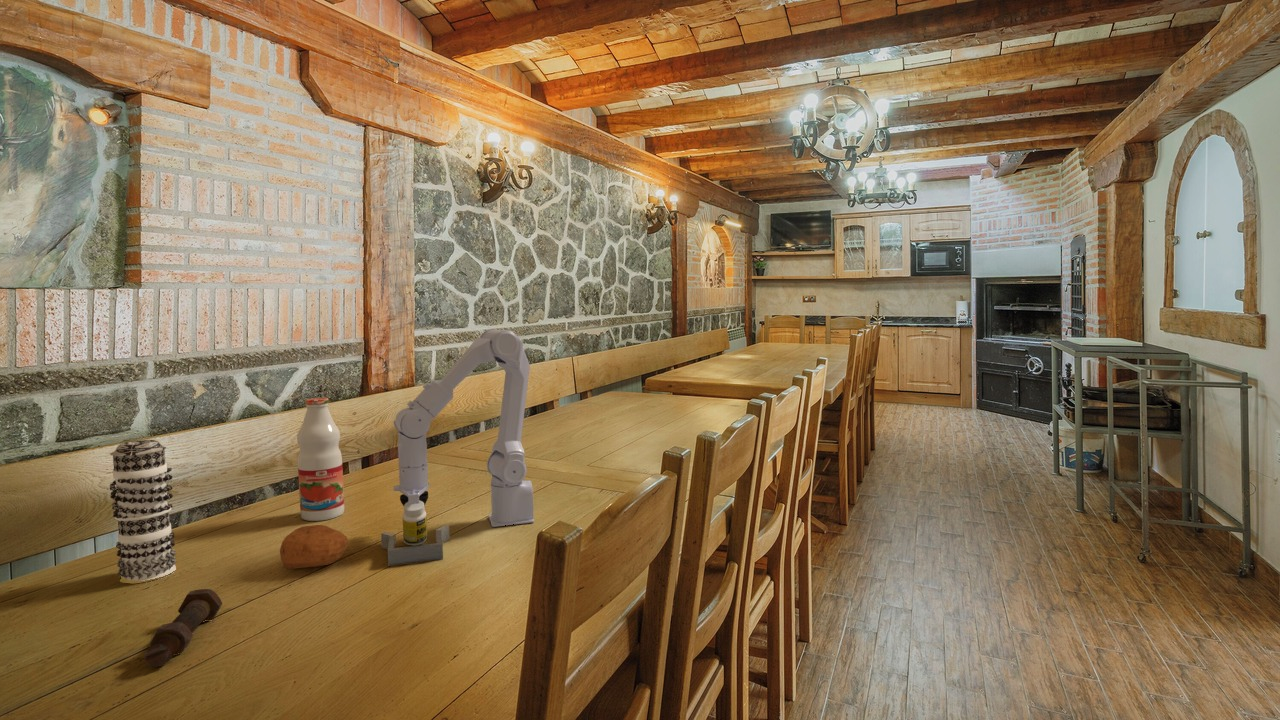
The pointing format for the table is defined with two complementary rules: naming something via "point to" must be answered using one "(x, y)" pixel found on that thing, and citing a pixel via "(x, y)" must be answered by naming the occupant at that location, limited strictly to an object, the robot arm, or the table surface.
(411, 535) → the supplement bottle
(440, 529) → the steel bracket
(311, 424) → the fruit juice
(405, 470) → the robot arm
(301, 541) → the potato
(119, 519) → the decorative candle
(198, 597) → the bolt
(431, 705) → the table surface
